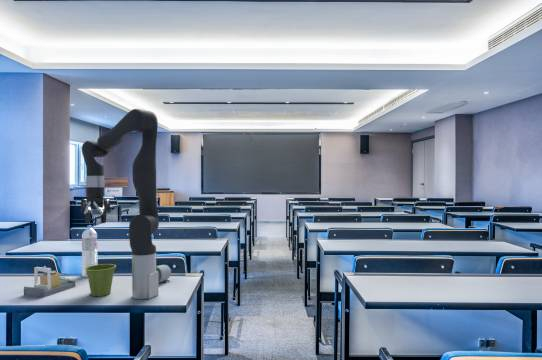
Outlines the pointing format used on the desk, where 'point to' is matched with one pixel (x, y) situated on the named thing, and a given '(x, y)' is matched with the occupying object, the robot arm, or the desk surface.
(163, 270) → the ceramic mug
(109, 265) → the plant pot
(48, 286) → the grey arch gate
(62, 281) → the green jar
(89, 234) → the water bottle
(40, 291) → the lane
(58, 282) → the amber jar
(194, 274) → the desk surface
